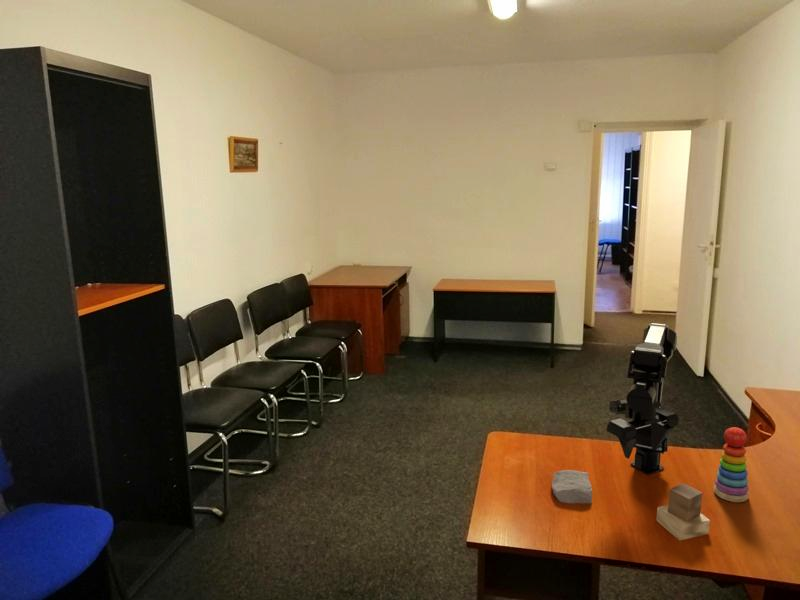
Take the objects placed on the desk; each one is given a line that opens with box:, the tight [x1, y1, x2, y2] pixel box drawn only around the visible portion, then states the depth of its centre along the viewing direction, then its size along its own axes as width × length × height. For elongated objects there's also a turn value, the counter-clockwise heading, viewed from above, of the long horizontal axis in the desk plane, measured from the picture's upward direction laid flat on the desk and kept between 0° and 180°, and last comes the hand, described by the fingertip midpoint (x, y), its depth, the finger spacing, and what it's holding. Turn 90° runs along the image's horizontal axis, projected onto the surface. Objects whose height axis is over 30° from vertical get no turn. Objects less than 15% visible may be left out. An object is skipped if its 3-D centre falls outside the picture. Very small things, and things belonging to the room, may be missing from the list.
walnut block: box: [667, 482, 703, 522], centre depth 138 cm, size 5×5×6 cm
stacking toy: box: [713, 426, 750, 503], centre depth 149 cm, size 8×8×19 cm
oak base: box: [655, 504, 711, 541], centre depth 139 cm, size 8×8×4 cm
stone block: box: [551, 469, 593, 505], centre depth 156 cm, size 12×5×10 cm
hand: (640, 453), depth 149 cm, fingers open, 9 cm apart
